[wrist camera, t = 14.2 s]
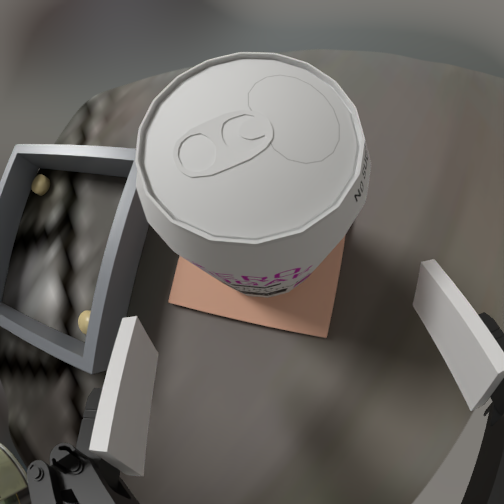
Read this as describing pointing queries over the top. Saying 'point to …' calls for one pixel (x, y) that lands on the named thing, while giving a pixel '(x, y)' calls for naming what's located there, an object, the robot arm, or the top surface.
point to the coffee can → (12, 480)
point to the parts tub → (115, 257)
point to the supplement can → (252, 169)
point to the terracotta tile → (264, 309)
